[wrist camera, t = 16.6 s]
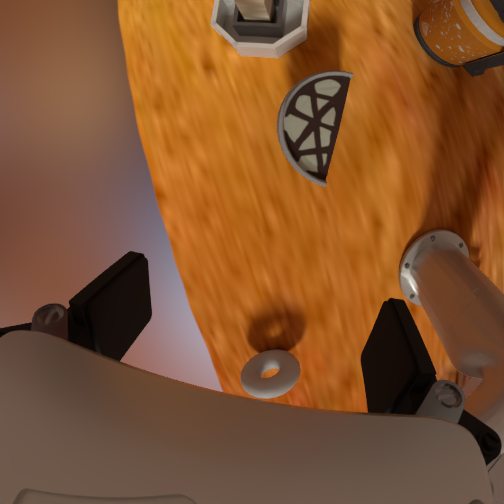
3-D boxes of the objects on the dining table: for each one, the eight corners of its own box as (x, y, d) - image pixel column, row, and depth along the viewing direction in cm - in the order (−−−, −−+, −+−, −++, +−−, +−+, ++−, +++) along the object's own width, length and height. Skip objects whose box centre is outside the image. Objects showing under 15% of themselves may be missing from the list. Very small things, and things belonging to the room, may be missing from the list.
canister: (446, 10, 21) (517, -38, 3) (480, 76, 24) (572, 63, 6) (401, 17, 24) (464, -49, 6) (439, 87, 27) (533, 67, 9)
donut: (250, 362, 50) (239, 404, 41) (243, 349, 49) (231, 391, 40) (303, 355, 47) (301, 399, 38) (299, 341, 46) (295, 385, 37)
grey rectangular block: (276, 12, 26) (268, -19, 18) (273, 30, 28) (263, 2, 19) (253, 10, 27) (238, -20, 18) (250, 28, 28) (234, 1, 20)
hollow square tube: (287, 4, 26) (285, -9, 22) (283, 38, 28) (280, 27, 24) (244, 2, 26) (237, -11, 22) (239, 35, 28) (231, 25, 25)
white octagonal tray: (311, -7, 25) (311, -22, 21) (304, 62, 29) (304, 52, 25) (227, -11, 26) (218, -24, 22) (216, 56, 31) (206, 47, 27)
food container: (293, 74, 30) (290, 52, 21) (341, 86, 30) (354, 69, 21) (272, 163, 36) (262, 173, 27) (319, 175, 35) (325, 190, 26)
